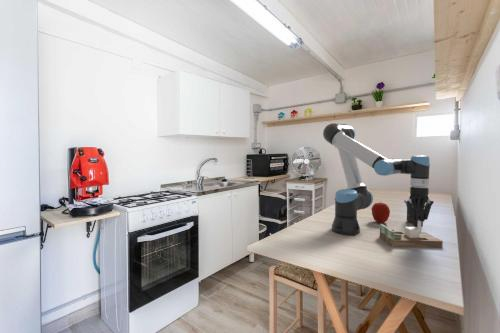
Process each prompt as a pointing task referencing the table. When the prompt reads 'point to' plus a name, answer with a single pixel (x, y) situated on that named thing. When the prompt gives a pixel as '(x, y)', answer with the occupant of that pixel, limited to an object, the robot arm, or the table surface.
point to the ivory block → (412, 232)
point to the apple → (380, 212)
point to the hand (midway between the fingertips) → (417, 233)
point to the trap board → (408, 238)
